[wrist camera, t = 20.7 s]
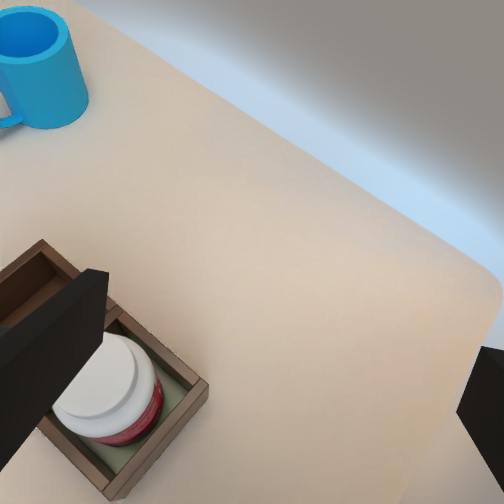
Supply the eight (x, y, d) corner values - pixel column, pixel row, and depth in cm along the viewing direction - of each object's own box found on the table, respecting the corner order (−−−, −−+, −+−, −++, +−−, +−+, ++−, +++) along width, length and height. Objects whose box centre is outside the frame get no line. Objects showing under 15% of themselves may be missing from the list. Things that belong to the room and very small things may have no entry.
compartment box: (208, 397, 36) (209, 384, 31) (123, 499, 32) (109, 502, 27) (61, 266, 40) (41, 238, 35) (-30, 343, 36) (-65, 322, 31)
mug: (48, 64, 51) (22, -5, 44) (104, 95, 50) (87, 30, 42) (-37, 127, 46) (-82, 60, 39) (23, 165, 44) (-12, 103, 37)
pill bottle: (181, 399, 35) (172, 366, 25) (122, 466, 32) (85, 459, 22) (125, 347, 36) (95, 297, 26) (64, 408, 33) (6, 377, 24)
